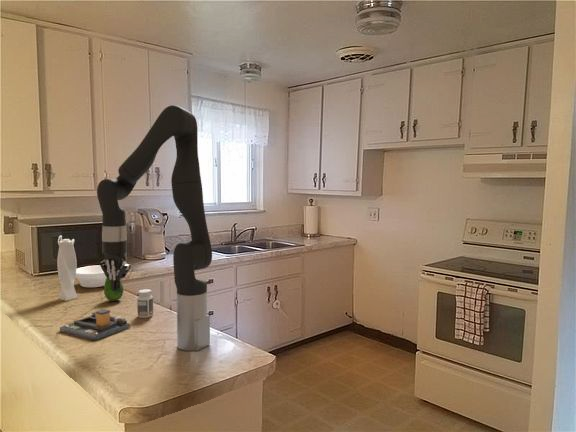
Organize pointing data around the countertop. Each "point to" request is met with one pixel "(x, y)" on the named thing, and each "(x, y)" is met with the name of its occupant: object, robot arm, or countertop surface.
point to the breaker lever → (102, 317)
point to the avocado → (112, 294)
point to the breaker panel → (92, 328)
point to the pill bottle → (145, 303)
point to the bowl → (91, 276)
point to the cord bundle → (114, 319)
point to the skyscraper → (67, 269)
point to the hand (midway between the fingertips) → (115, 290)
